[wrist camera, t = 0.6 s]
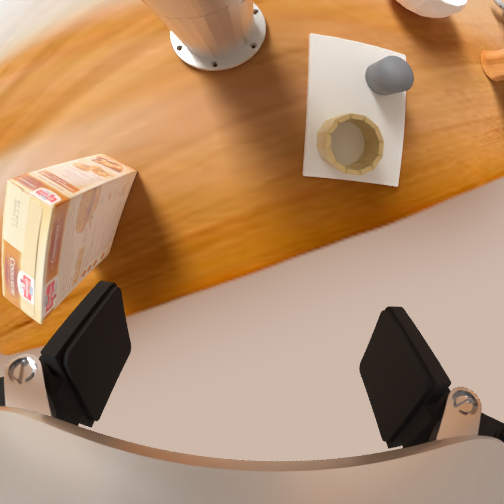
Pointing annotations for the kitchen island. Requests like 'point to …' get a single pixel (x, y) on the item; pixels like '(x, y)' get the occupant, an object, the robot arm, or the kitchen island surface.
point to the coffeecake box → (59, 229)
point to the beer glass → (493, 64)
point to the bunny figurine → (500, 4)
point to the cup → (434, 7)
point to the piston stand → (355, 105)
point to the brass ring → (371, 145)
